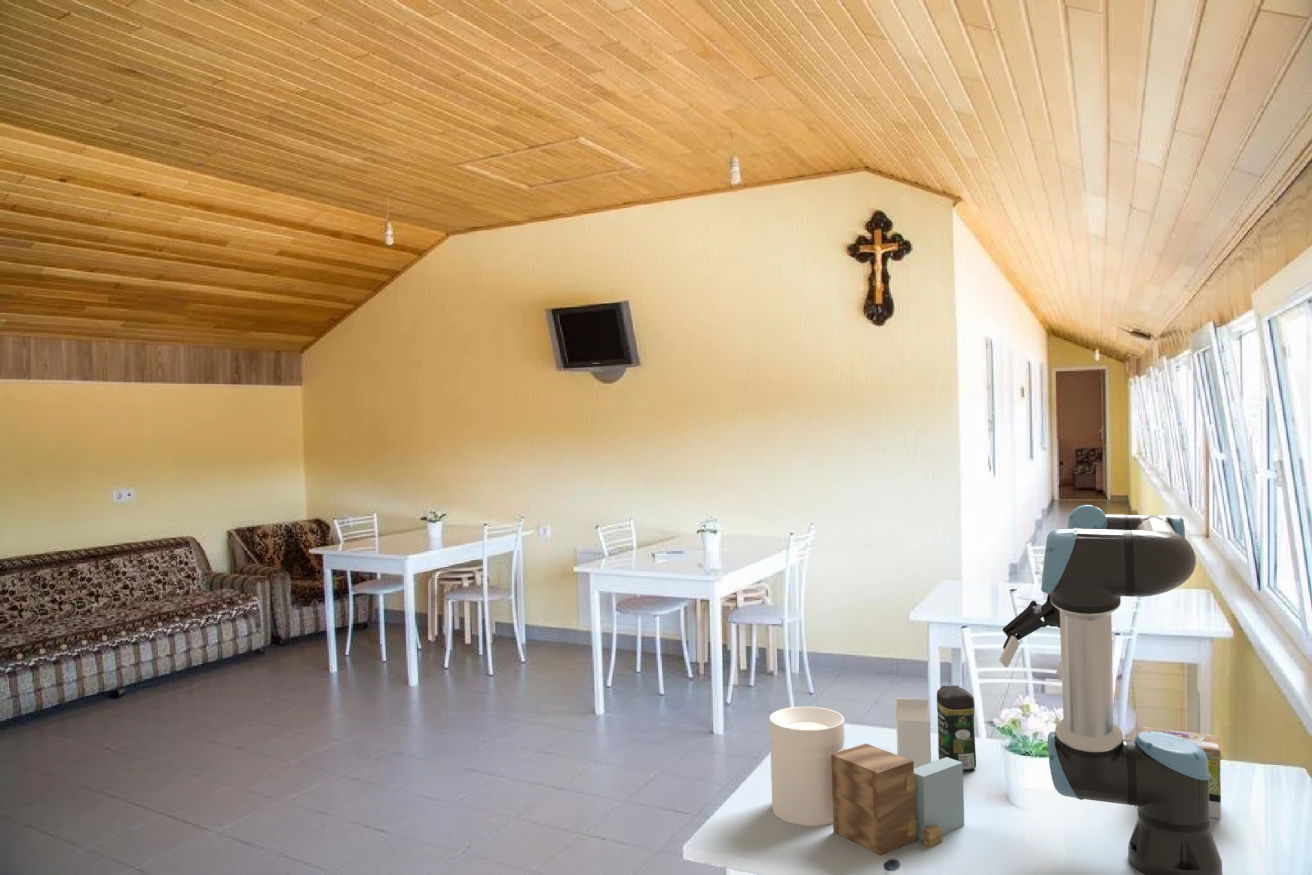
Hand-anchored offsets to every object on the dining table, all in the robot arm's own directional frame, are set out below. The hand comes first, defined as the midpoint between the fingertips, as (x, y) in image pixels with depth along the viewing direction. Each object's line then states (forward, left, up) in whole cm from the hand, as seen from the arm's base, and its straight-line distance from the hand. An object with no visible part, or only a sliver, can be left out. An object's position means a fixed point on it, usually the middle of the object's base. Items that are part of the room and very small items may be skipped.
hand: (1030, 670), depth 196 cm
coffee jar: (+26, -7, -30) cm, 40 cm away
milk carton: (+26, +8, -30) cm, 40 cm away
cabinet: (+10, +34, -30) cm, 46 cm away
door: (+6, +24, -30) cm, 39 cm away
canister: (+29, +38, -30) cm, 56 cm away
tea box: (-17, -25, -30) cm, 43 cm away
